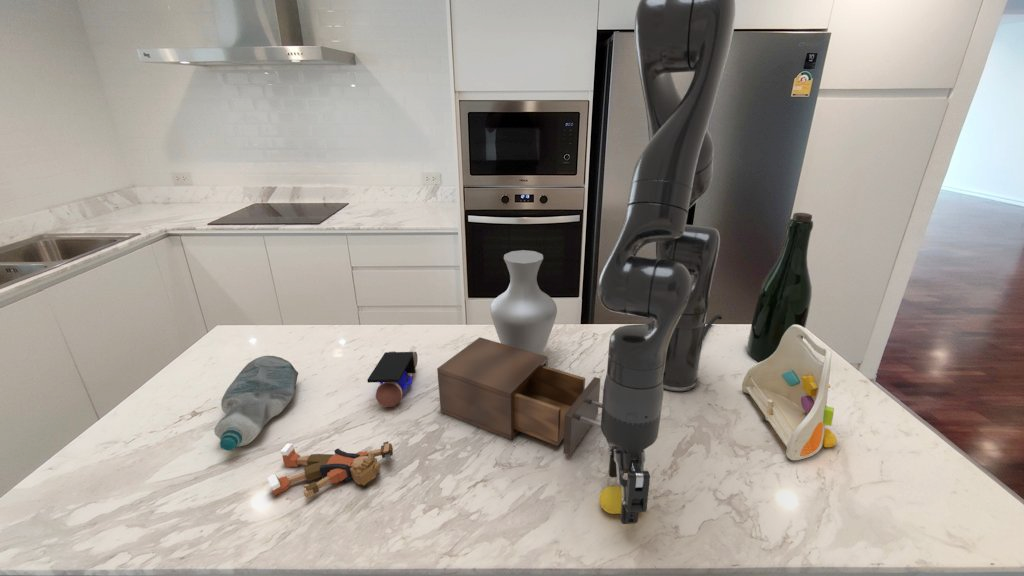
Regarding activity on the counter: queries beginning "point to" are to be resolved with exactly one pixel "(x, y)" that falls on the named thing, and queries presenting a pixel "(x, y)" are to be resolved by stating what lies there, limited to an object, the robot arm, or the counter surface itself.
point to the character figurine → (330, 468)
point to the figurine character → (393, 376)
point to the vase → (524, 305)
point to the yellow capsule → (611, 499)
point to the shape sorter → (795, 393)
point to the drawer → (556, 407)
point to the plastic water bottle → (255, 399)
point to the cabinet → (486, 384)
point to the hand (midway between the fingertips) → (621, 497)
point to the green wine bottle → (783, 292)
